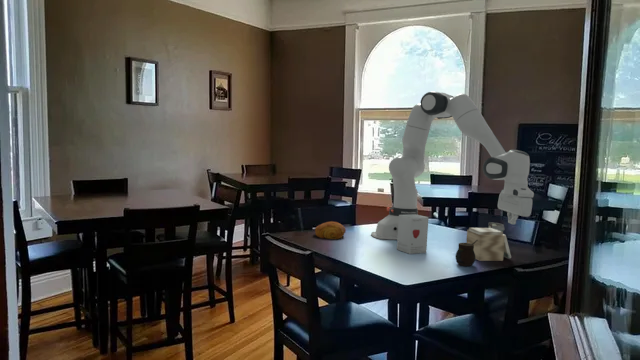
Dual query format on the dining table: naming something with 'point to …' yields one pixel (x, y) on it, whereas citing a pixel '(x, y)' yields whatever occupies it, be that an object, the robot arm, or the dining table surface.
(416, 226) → the supplement box
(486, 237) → the block
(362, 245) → the dining table surface
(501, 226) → the food container
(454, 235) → the dining table surface
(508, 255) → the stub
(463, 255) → the mate gourd
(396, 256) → the dining table surface
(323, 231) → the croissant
